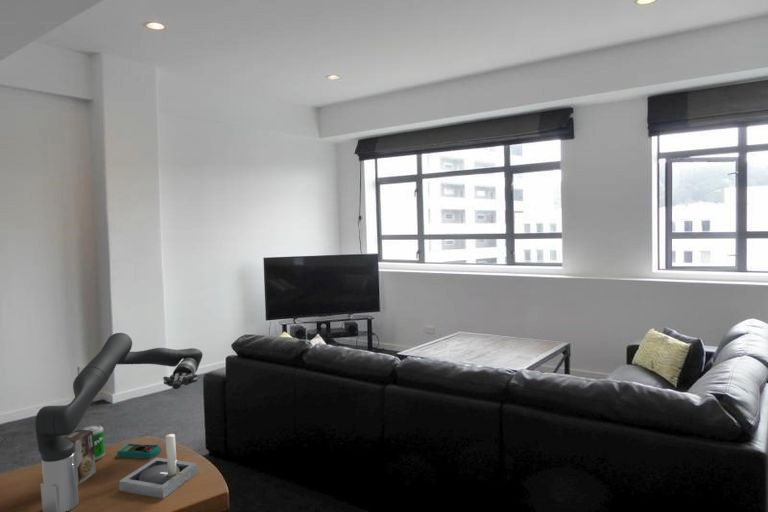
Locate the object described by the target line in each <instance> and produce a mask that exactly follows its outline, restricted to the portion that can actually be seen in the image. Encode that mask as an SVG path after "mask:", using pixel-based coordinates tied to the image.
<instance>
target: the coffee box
mask: <svg viewBox="0 0 768 512" xmlns="http://www.w3.org/2000/svg"><path fill="white" fill-rule="evenodd" d="M63 438H64V439H66V440H69V441H71V442H73V444H74V446H75V458H76V472H77V485H78V486H80V485H81V484H82V483H84V482H85V481H87V480H88V479H90V478H91V477H92V476H94V474H96V473H97V467H96V461H95V452H94V441H93V431H90V430H83V429H75V430H74V431H73V432H72V433H70V434H68V435H65V436H63ZM79 484H80V485H79Z"/></svg>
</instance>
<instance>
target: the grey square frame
mask: <svg viewBox="0 0 768 512" xmlns="http://www.w3.org/2000/svg"><path fill="white" fill-rule="evenodd" d="M176 462H177V466H178V467H179V473H178V474H176V475H175V476H174V477H172V478H171V479H169V480H168V481H167V482H165V483H164V484H163V485H161V484H155V483H149V482H143V481H139V476H140V474H141V473H142V472H143V471H145V470H146V469H148V468H151V467H154V466H157V465H163V464H167V458H163V457H154V458H153V459H151V460H150V461H149V462H146V463H145V464H144V465H141V466H140V467H139V468H137V469H136V470H134V471H133V472H131V473H129V474H127V476H125V477H123V478H122V479H119V481H118V483H119V486H118V488H119V491H120V492H124V491H125V492H126V493H131V494H135V495H136V494H137V495H140V496H141V495H142V496H147V497H151V498H152V497H153V498H159V499H165V498H167V496H169V495H170V494H171V493H173V492H174V491H175V490H177V489H178V488H179V487H181V486H182V485H183V484H185V483H186V482H188V481H189V480H190V479H192V478H193V477H195V475H196V473H197V474H198V473H199V466H198V463H197V462H190V461H184V460H183V461H182V460H178V459H176ZM125 492H124V493H125Z"/></svg>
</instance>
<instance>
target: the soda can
mask: <svg viewBox="0 0 768 512" xmlns="http://www.w3.org/2000/svg"><path fill="white" fill-rule="evenodd" d="M82 430H90V431H93V441H94V452H95V462H97V461H98V460H101V459H102V458H103V457H104V456H105V454H106V449H105V436H104V427H102V426H101V425H100V424H92V425H88V426H86V427H84V428H83V429H82Z"/></svg>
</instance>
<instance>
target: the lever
mask: <svg viewBox="0 0 768 512" xmlns="http://www.w3.org/2000/svg"><path fill="white" fill-rule="evenodd" d="M176 448H177V446H176V434H175V433H170V434H167V435H165V449H166V459H167V464H163V465H157V466H154V467H151V468H148V469H146V470H145V471H143V472H142V473H141V474H140V476H139V481H143V482H149V483H155V484H161V485H163V484H164V483H165V482H167V481H168V480H169V479H171V478H172V477H174V476H175V475H176V474H178V473H179V467H178V466H177V462H176V460H177V449H176Z"/></svg>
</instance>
